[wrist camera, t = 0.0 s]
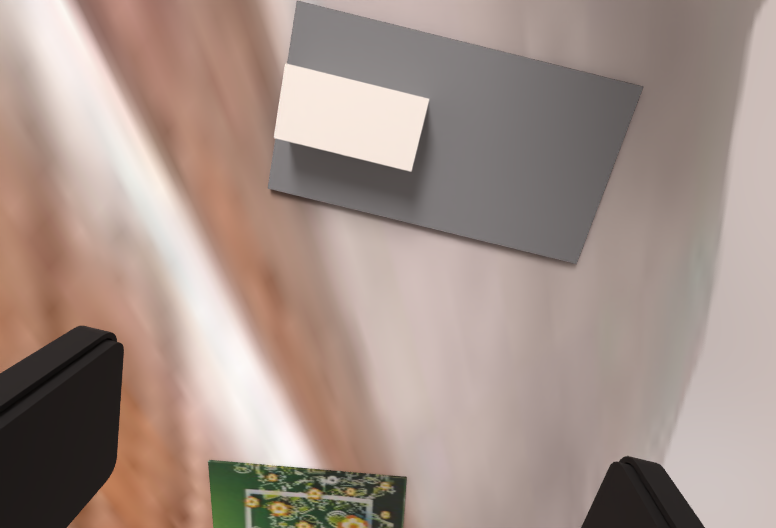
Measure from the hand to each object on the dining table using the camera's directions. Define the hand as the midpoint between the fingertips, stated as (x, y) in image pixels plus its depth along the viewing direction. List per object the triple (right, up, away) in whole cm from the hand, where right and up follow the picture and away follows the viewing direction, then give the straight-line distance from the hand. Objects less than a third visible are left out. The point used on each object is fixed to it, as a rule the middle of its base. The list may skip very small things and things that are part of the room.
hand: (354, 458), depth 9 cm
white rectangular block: (-2, +15, +28) cm, 31 cm away
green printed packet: (-8, -32, +44) cm, 55 cm away
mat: (+5, +13, +28) cm, 32 cm away
